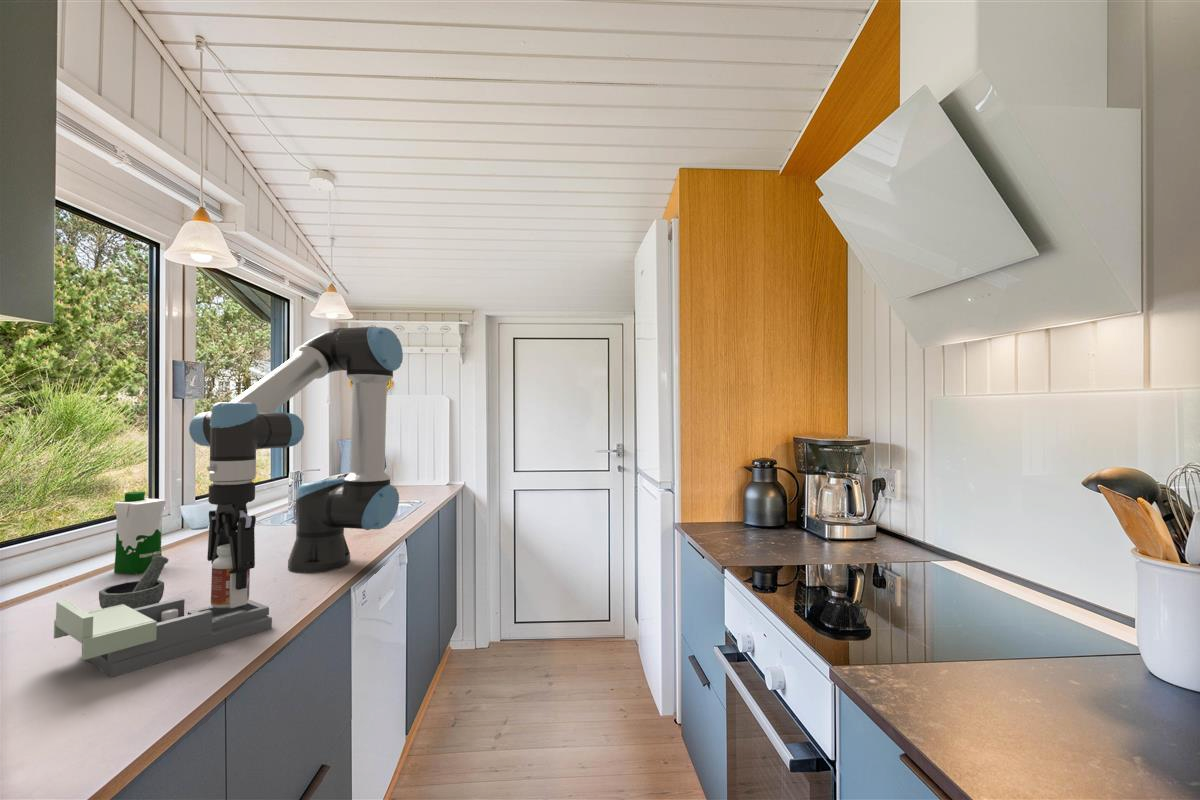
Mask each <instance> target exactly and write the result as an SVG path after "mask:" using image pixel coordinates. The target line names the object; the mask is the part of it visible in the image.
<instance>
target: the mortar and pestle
mask: <svg viewBox="0 0 1200 800" xmlns="http://www.w3.org/2000/svg"><path fill="white" fill-rule="evenodd" d="M169 560H170V559H169V558H168V557H166V556H164V555H163V556H153V557H152V562H151V564H150V565H149V567H148V568H147V570H146V571H145V572H143V573H142V574H143V575H142V576H141V577H140V579H139V580H132V581H125V582H121V583H116V584H113V585H109V586H107V587H105V588H103V589H101V590H99V591H98V601H99V607H100V609H104V608H108V607H113V606H117V605H122V604H124V605H126V606H128V607H130V608H132V609H135V608H139V607H143V606H148V605H152V604H156V603H161V600H162V598H163V596H164V591H165V582H164V581H162V580H160V579H159V578H160V576H161V573H162V572H163V570H164V566H165V565H166V564H168V562H169Z"/></svg>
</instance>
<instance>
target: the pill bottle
mask: <svg viewBox="0 0 1200 800" xmlns="http://www.w3.org/2000/svg"><path fill="white" fill-rule="evenodd" d="M217 555H218V556H219V557H218V558H217V559H215V560H214V561H213V563H211V580H210V581H211V584H210V585H211V586H210V587H211V588H210V589H211V591H210V606H212V607H215V608H229V601H230V574H229V571H231V570H233V566H232V558H231V550H230V544H225V545H221V546H218V547H217ZM250 573H251V569H249V570H248V577H247V601H248V600H250V584H251V583H250V577H251V574H250Z"/></svg>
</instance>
